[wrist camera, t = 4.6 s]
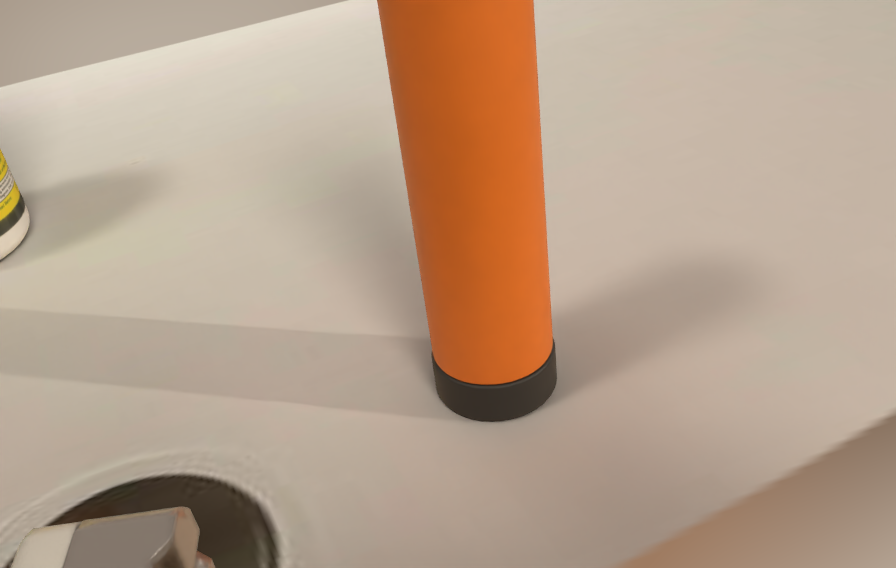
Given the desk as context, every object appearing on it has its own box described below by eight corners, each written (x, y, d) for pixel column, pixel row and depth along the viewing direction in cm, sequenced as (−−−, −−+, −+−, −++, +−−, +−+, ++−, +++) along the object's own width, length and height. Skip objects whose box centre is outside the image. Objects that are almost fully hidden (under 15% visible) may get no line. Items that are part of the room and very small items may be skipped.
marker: (578, 402, 22) (560, -86, 16) (455, 438, 22) (381, -53, 15) (531, 330, 25) (499, -111, 18) (420, 361, 25) (345, -84, 18)
